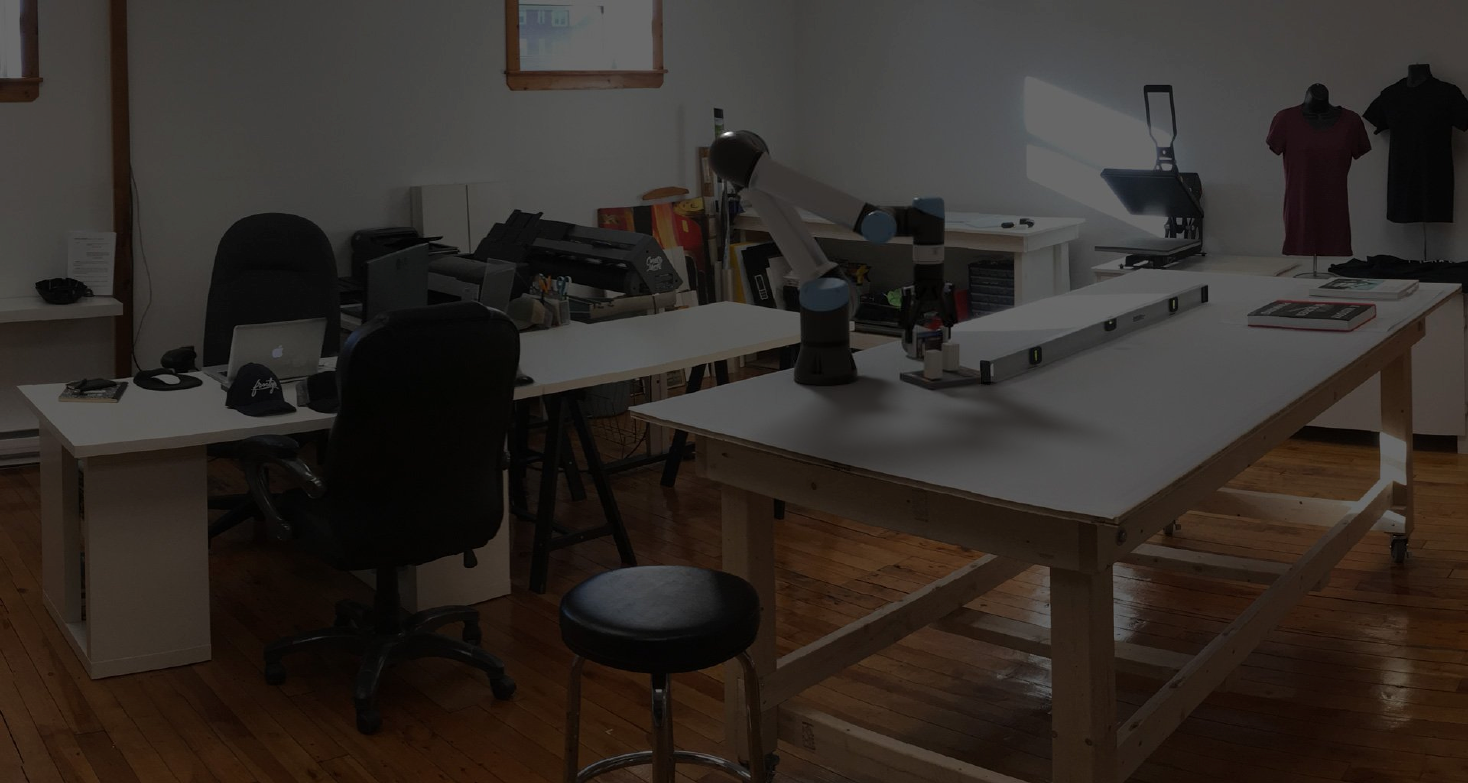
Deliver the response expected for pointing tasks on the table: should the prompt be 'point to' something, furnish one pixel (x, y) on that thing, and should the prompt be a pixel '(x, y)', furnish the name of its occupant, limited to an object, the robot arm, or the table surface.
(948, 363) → the tab
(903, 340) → the ceramic mug
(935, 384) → the grey base plate
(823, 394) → the table surface
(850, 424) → the table surface
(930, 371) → the cream upright block
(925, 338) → the mini dv tape
